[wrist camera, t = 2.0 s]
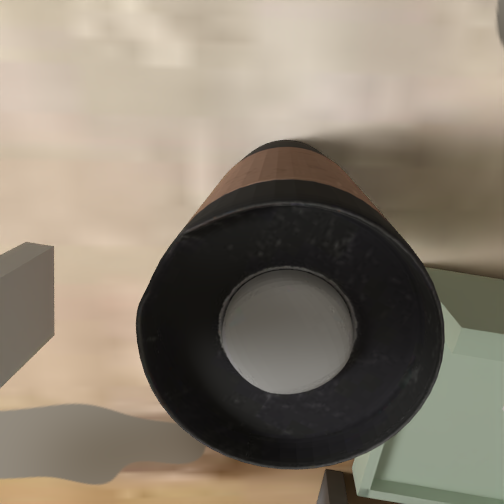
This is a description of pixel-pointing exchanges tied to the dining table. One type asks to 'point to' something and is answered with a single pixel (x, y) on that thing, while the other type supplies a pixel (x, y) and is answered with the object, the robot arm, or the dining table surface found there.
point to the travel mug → (290, 317)
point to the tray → (451, 410)
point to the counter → (332, 489)
